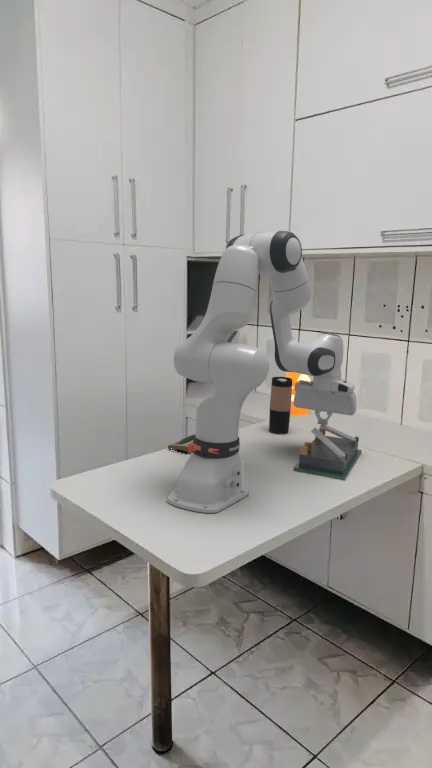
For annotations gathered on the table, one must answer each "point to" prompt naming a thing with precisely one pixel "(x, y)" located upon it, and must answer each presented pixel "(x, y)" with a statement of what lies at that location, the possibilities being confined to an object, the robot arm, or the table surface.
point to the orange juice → (295, 378)
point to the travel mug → (280, 405)
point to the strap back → (337, 433)
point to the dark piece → (328, 457)
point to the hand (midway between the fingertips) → (322, 424)
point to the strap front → (328, 442)
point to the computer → (182, 445)
